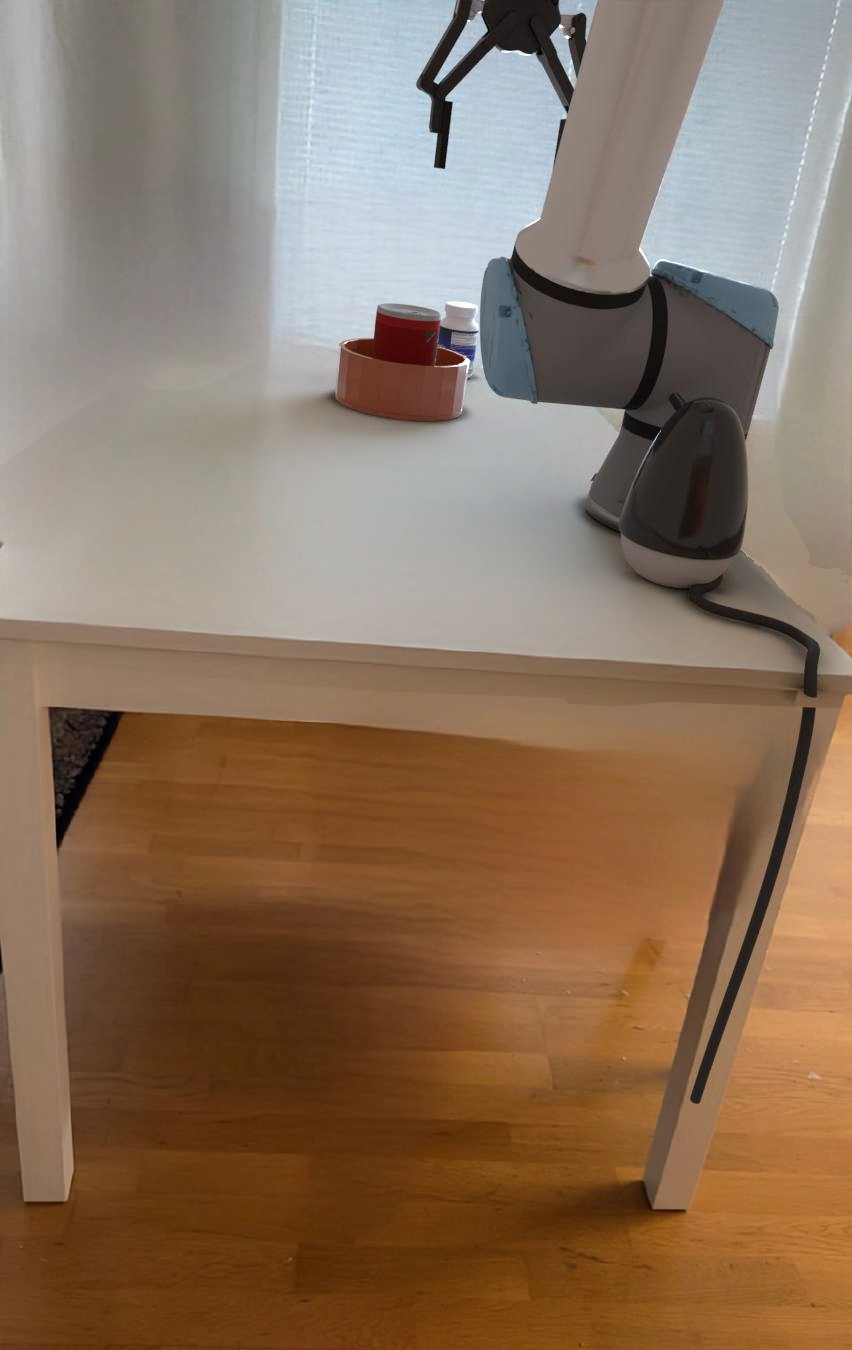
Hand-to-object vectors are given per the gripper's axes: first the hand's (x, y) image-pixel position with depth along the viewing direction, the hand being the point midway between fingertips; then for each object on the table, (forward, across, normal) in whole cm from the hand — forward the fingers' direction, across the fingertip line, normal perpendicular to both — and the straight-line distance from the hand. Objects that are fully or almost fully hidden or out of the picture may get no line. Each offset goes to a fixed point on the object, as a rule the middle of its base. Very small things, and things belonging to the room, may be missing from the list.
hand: (498, 177), depth 118 cm
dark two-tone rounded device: (+29, -8, +47) cm, 56 cm away
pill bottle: (+27, -5, -30) cm, 41 cm away
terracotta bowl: (+28, +7, -8) cm, 29 cm away
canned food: (+27, +7, -8) cm, 29 cm away
